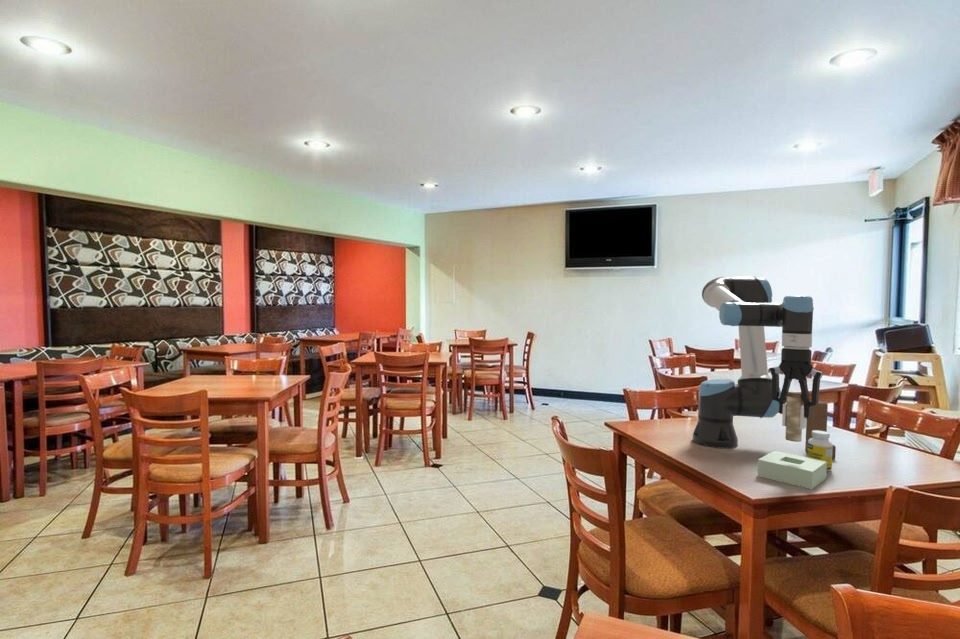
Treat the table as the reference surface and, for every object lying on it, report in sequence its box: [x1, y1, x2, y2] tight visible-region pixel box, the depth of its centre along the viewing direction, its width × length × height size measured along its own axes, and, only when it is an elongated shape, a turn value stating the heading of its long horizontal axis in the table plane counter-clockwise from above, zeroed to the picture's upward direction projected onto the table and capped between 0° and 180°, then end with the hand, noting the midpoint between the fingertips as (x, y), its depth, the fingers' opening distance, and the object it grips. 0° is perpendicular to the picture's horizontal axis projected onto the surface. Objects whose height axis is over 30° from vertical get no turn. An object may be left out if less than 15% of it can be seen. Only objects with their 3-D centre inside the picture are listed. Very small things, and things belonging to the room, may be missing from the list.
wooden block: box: [804, 400, 837, 460], centre depth 170 cm, size 9×4×18 cm, turn 0°
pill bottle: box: [806, 430, 834, 472], centre depth 156 cm, size 6×6×12 cm
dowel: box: [785, 391, 804, 443], centre depth 147 cm, size 4×4×14 cm
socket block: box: [757, 450, 827, 490], centre depth 148 cm, size 14×14×5 cm
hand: (793, 426), depth 147 cm, fingers closed on dowel, 4 cm apart
